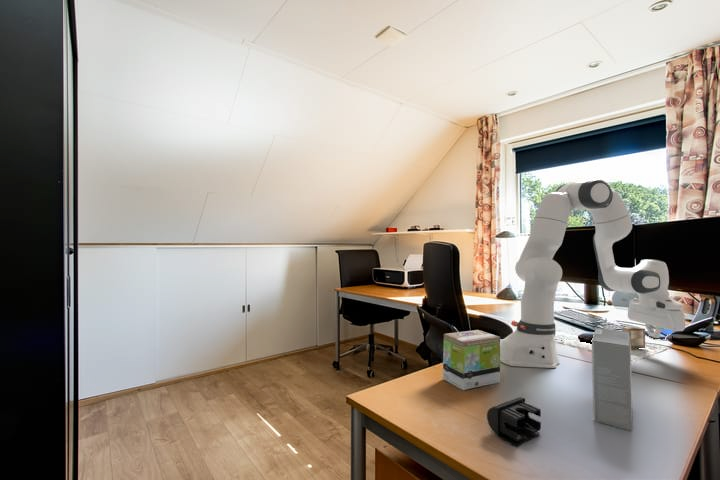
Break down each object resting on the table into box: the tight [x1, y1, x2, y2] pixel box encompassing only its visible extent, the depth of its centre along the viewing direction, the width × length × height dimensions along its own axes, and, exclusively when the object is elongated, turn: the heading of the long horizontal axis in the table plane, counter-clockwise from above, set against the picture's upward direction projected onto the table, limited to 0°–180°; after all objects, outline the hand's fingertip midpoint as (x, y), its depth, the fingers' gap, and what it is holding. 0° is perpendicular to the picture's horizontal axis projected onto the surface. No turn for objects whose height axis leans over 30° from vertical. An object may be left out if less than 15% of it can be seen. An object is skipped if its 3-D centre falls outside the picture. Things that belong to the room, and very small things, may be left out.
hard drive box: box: [591, 327, 633, 432], centre depth 84 cm, size 16×8×20 cm, turn 141°
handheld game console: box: [645, 328, 676, 340], centre depth 155 cm, size 12×11×7 cm
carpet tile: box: [555, 327, 668, 363], centre depth 146 cm, size 39×30×2 cm
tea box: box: [442, 329, 501, 391], centre depth 104 cm, size 15×10×15 cm, turn 115°
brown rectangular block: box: [621, 326, 646, 349], centre depth 135 cm, size 7×3×8 cm, turn 94°
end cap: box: [486, 396, 542, 448], centre depth 75 cm, size 10×7×7 cm
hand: (654, 337), depth 127 cm, fingers closed
